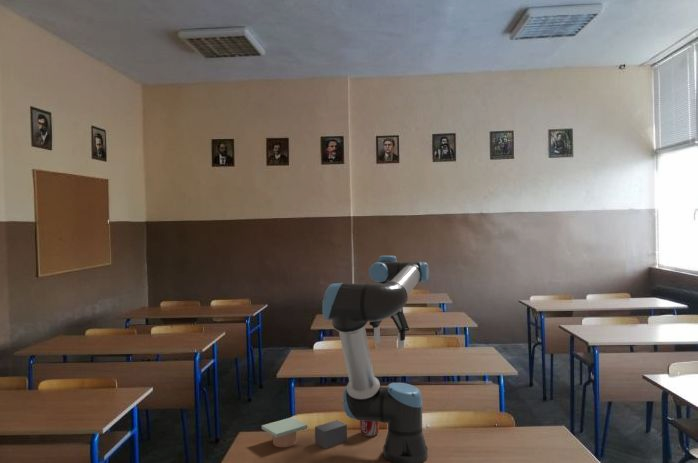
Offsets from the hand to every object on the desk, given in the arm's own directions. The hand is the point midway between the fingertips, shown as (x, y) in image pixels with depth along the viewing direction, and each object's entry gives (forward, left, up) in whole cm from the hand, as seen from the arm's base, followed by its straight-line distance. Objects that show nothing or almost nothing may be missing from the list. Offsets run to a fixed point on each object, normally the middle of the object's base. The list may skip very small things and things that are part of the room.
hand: (388, 345), depth 201 cm
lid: (+9, +44, -25) cm, 52 cm away
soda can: (-5, +15, -31) cm, 34 cm away
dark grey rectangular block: (-2, +31, -30) cm, 43 cm away
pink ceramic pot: (+9, +44, -30) cm, 54 cm away
